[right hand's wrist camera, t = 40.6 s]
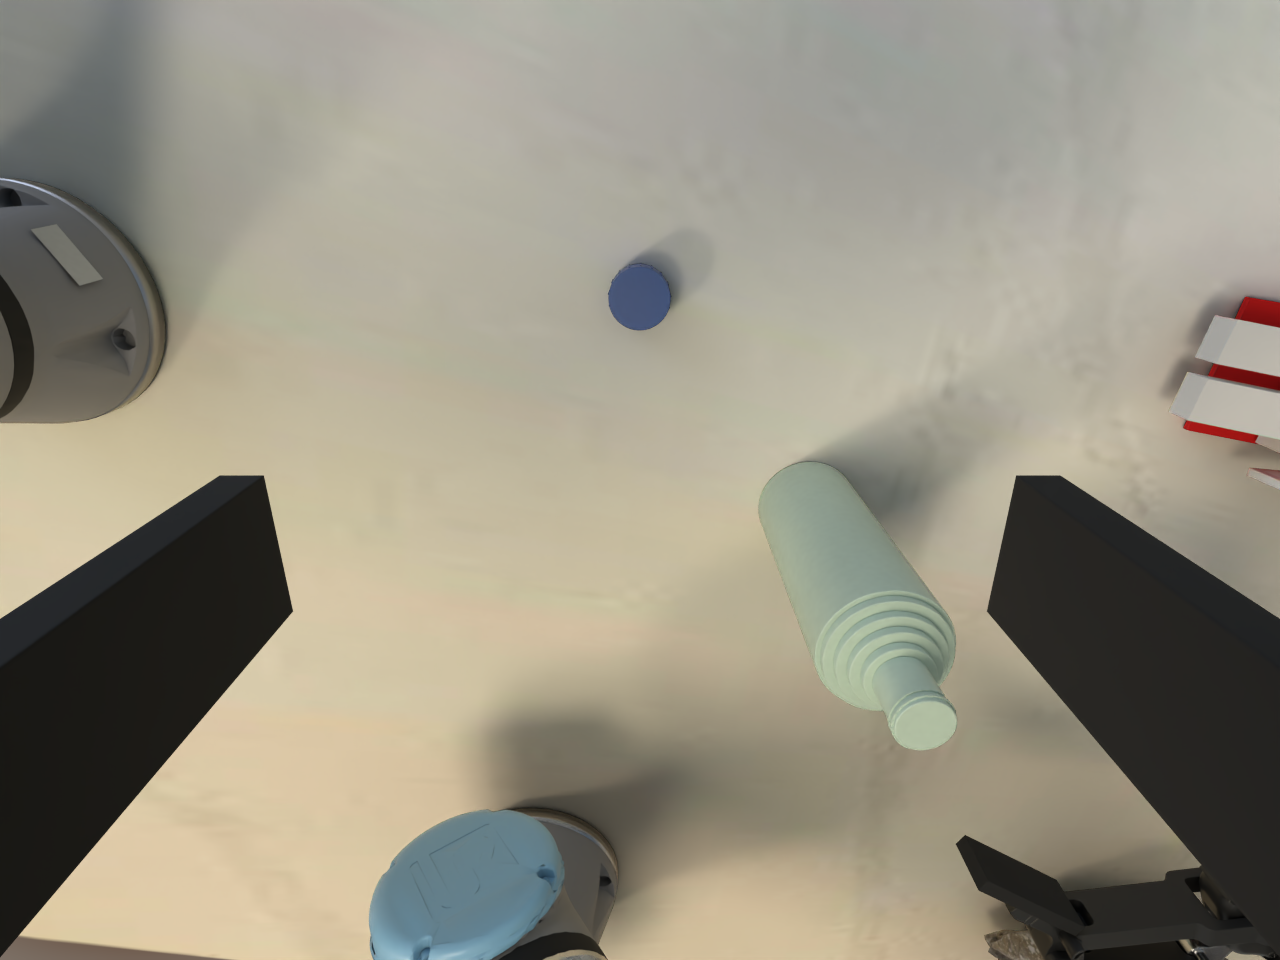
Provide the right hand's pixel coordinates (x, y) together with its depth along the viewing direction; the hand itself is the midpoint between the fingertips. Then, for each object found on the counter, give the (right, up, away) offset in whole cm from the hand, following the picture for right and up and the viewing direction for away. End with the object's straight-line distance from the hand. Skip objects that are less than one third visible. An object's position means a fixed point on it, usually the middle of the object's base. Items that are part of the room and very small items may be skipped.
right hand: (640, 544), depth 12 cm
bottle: (+12, -1, +39) cm, 41 cm away
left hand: (+20, -13, +21) cm, 32 cm away
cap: (0, +13, +31) cm, 34 cm away
